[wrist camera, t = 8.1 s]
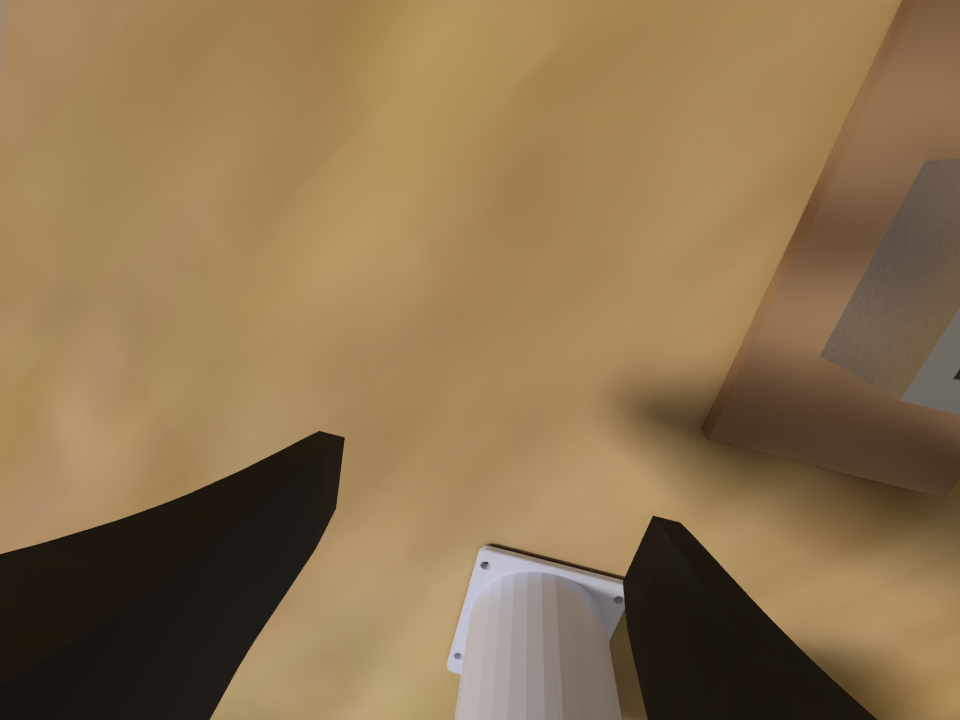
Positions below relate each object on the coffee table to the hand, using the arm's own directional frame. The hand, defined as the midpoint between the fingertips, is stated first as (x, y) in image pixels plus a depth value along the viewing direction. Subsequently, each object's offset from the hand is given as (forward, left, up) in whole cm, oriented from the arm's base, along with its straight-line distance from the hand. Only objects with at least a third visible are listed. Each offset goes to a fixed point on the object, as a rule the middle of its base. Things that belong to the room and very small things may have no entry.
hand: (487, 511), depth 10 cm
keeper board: (+7, -14, -10) cm, 19 cm away
